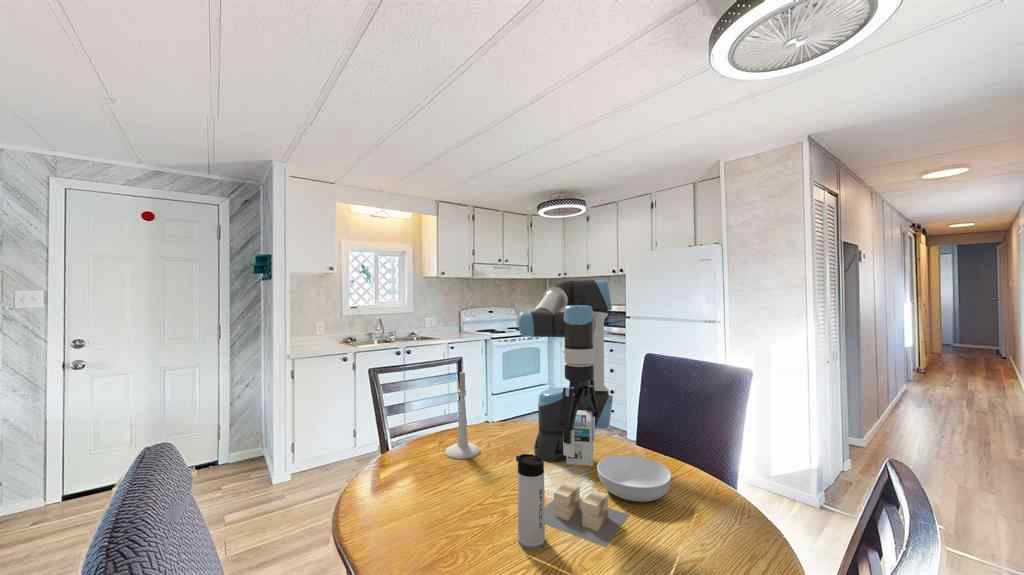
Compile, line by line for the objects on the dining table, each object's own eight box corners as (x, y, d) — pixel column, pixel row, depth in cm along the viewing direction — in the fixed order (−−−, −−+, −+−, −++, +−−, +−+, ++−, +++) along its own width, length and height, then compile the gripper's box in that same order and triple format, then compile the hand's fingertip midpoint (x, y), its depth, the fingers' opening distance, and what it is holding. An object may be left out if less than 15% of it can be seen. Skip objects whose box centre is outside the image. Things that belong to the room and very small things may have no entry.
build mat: (561, 494, 113) (561, 493, 113) (629, 516, 102) (629, 514, 102) (531, 520, 100) (531, 518, 100) (606, 548, 89) (606, 547, 89)
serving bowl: (583, 494, 114) (583, 470, 114) (618, 470, 129) (617, 449, 129) (653, 521, 99) (653, 494, 100) (683, 491, 115) (682, 467, 115)
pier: (593, 512, 103) (593, 490, 103) (608, 517, 100) (607, 494, 101) (582, 525, 97) (581, 501, 97) (597, 531, 95) (597, 506, 95)
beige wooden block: (566, 503, 107) (566, 481, 107) (579, 508, 105) (579, 485, 105) (554, 515, 102) (553, 492, 102) (567, 520, 99) (567, 496, 99)
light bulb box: (593, 466, 95) (592, 422, 96) (565, 464, 97) (565, 420, 97) (593, 450, 106) (592, 410, 106) (568, 448, 107) (567, 408, 107)
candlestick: (482, 457, 140) (481, 373, 141) (446, 460, 137) (446, 375, 138) (477, 444, 153) (476, 367, 153) (444, 447, 150) (444, 369, 150)
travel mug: (515, 535, 94) (514, 452, 94) (542, 533, 95) (541, 450, 95) (518, 552, 88) (517, 462, 88) (547, 550, 88) (546, 461, 89)
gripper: (585, 357, 114) (586, 431, 113) (543, 369, 94) (544, 460, 94) (609, 359, 110) (610, 436, 109) (571, 373, 90) (572, 467, 89)
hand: (580, 447), depth 101 cm, fingers closed on light bulb box, 12 cm apart
